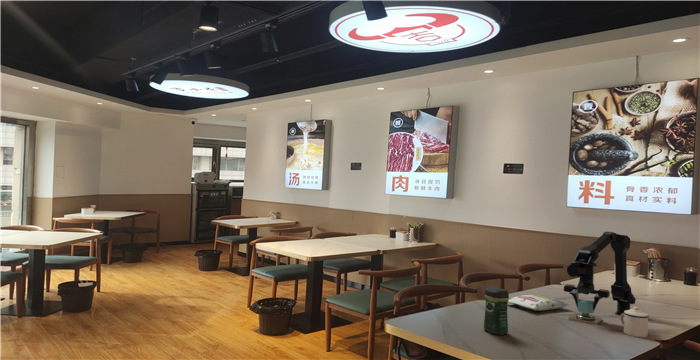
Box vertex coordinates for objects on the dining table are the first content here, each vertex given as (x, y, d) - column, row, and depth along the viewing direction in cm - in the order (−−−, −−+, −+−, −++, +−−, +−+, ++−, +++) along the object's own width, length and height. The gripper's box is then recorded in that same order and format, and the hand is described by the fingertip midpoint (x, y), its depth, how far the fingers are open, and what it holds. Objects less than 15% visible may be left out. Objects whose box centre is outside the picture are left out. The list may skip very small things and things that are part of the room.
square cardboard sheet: (574, 314, 225) (574, 304, 225) (602, 319, 217) (602, 309, 217) (568, 319, 215) (568, 309, 215) (597, 325, 208) (597, 314, 208)
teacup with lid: (653, 337, 193) (654, 309, 193) (637, 338, 190) (638, 310, 191) (628, 328, 205) (628, 302, 205) (612, 329, 202) (613, 303, 202)
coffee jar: (511, 334, 189) (512, 289, 190) (496, 336, 186) (497, 290, 186) (494, 327, 198) (496, 284, 199) (480, 329, 195) (481, 285, 195)
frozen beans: (570, 298, 232) (535, 302, 221) (570, 310, 232) (535, 314, 221) (537, 291, 251) (503, 294, 240) (537, 302, 251) (503, 305, 240)
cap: (579, 308, 221) (580, 298, 221) (594, 311, 217) (595, 300, 217) (576, 311, 216) (576, 300, 216) (591, 314, 212) (592, 303, 212)
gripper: (561, 275, 216) (560, 308, 216) (605, 281, 204) (604, 316, 204) (567, 272, 225) (566, 304, 225) (610, 278, 213) (609, 311, 213)
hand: (585, 309), depth 216 cm, fingers closed on cap, 6 cm apart
